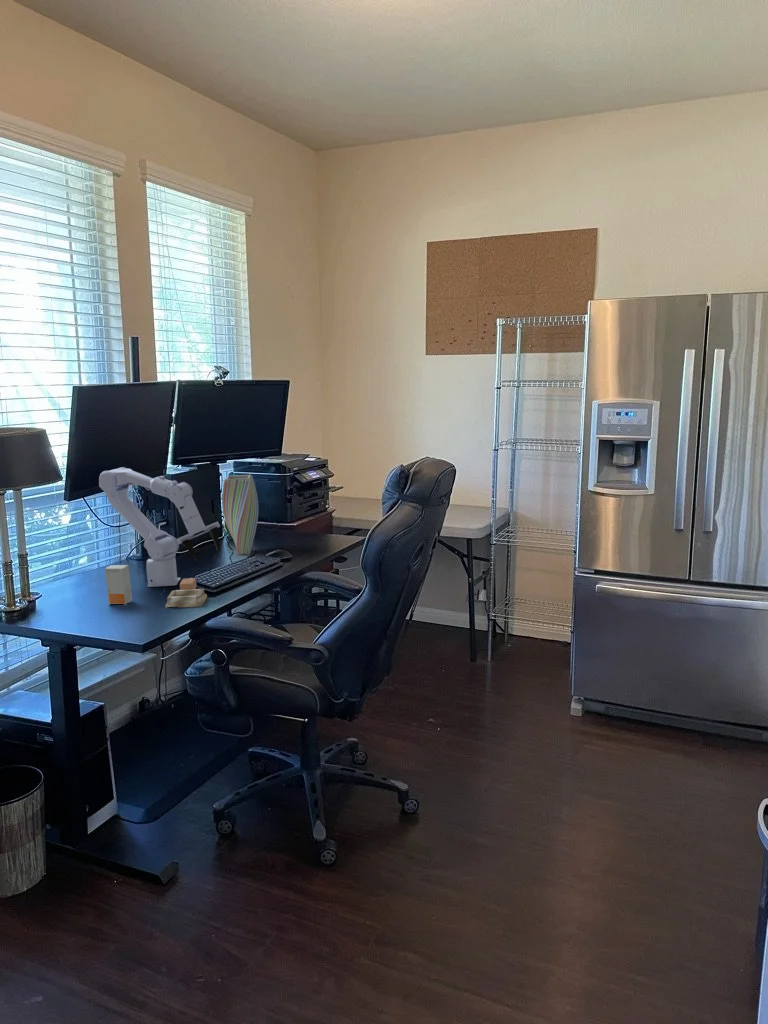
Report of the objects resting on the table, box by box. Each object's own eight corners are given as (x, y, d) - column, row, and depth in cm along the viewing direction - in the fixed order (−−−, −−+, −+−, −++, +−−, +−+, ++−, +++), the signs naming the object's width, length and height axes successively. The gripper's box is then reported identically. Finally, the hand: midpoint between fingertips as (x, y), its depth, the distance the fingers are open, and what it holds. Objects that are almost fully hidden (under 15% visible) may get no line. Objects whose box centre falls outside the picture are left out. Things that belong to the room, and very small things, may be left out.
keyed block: (180, 597, 238) (179, 584, 237) (184, 591, 244) (183, 578, 243) (193, 596, 238) (192, 583, 238) (196, 591, 244) (195, 578, 243)
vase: (225, 558, 285) (218, 480, 279) (227, 549, 298) (221, 475, 292) (260, 555, 286) (255, 478, 280) (262, 547, 299) (256, 473, 293)
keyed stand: (165, 608, 228) (164, 598, 227) (171, 599, 237) (170, 589, 236) (202, 606, 228) (201, 596, 228) (206, 597, 237) (206, 588, 237)
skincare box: (108, 605, 233) (104, 568, 230) (114, 601, 237) (110, 564, 234) (126, 605, 232) (122, 568, 229) (133, 601, 236) (129, 564, 233)
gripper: (172, 525, 240) (189, 564, 241) (213, 508, 245) (230, 546, 246) (169, 527, 246) (186, 564, 247) (210, 510, 252) (227, 547, 253)
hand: (208, 555), depth 247 cm, fingers open, 7 cm apart
